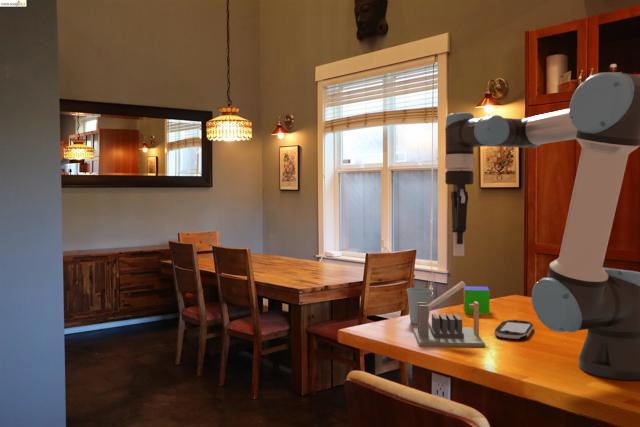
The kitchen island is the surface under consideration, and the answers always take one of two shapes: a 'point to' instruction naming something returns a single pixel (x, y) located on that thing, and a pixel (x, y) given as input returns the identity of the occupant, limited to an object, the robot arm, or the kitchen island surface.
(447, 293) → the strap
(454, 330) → the grey slotted rack
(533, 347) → the kitchen island surface
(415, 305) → the cup
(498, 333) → the gaming console
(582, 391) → the kitchen island surface
